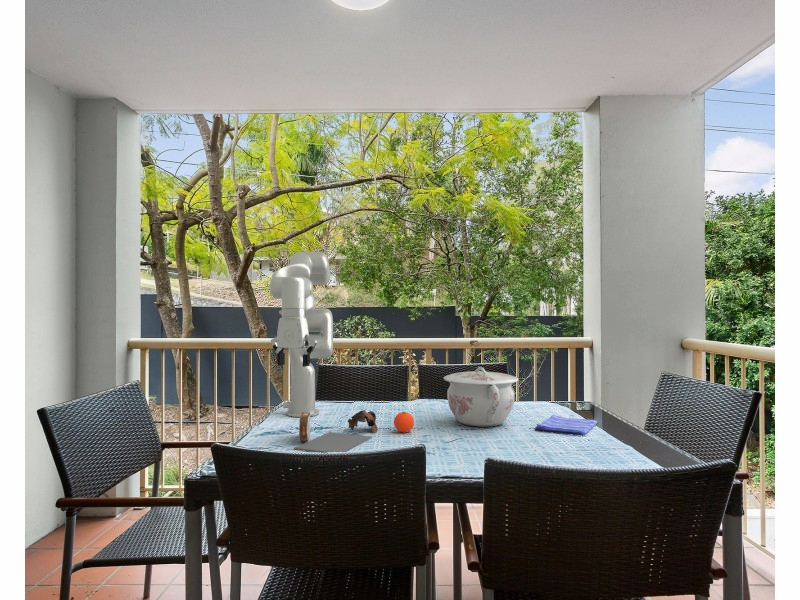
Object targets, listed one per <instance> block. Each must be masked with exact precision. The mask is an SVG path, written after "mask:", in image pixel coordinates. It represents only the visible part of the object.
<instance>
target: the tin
mask: <svg viewBox="0 0 800 600" xmlns="http://www.w3.org/2000/svg"><path fill="white" fill-rule="evenodd" d="M310 423H311V416H310V413H309V412H302V413H301V415H300V417H299V424H298V425H299V431H298V432H299V433H298V434H299V435H298V436H299V437H298V438H299V443H301V442H302V443H306V442H308V441H310V437H311V424H310Z"/></svg>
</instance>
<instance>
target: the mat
mask: <svg viewBox="0 0 800 600" xmlns="http://www.w3.org/2000/svg"><path fill="white" fill-rule="evenodd" d="M372 438H373V436H370V435H362V434H351V433H342V432H332V431H329V432H327V433H324V434H322V435H320V436H317V437H315V438H313V439H311V440H310V439H309V440H308V441H307V442H303V443H302V444H300V445H297V446H295V447H293V450H294V451H303V450H305V452H312V453H320V452H345V453H347V452H348V451H350V450H352V449H354V448H356V447H357V446H359V445H361V444H363V443H365V442H368V441H369V440H371V439H372Z"/></svg>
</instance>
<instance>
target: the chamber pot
mask: <svg viewBox="0 0 800 600" xmlns="http://www.w3.org/2000/svg"><path fill="white" fill-rule="evenodd" d="M443 380H444V381H446V382H449V387H448V388H447V402H448V407H449V409H450V411H451V413H452V415H453V416H454V418H455V420H456V421H457V422H459V423H461V424H463V425H465V426H468V425H469V427H473V426H477V428H491V426H492V427H496V426H498V425H501V424H504V423H505V422H506V421H507V419H508V417H509V415H510V414H511V413H512V411H513V409H514V404H515V397H516V394H515V393H516V392H515V390H514V388H513V386H512V385H513V384H515V383H518V381H519V378H518V377H517V376H515V375H511V374H507V373H502V372H496V371H495V372H494V371H486V370H485V368H484V367H483V366H478V367H477V368H476V369H475V370H474V371H473V370H472V371H463V372H461V371H460V372H454V373H450V374H448V375H445V376H443Z"/></svg>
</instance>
